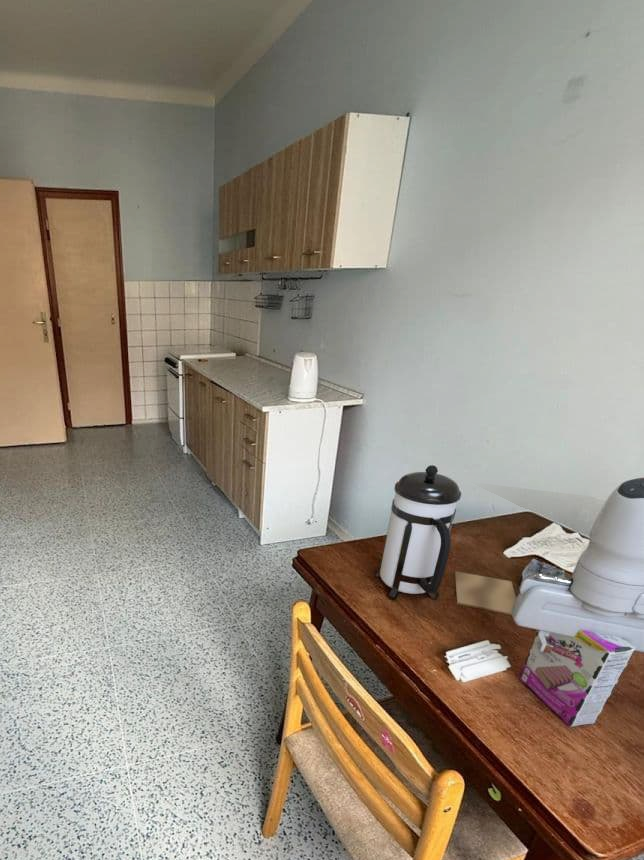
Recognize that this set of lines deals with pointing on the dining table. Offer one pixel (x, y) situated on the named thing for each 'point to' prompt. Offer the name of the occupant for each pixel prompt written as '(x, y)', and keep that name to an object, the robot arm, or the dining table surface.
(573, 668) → the candy bar box
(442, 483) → the coffee press
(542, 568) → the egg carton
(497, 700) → the dining table surface
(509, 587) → the cork pad
